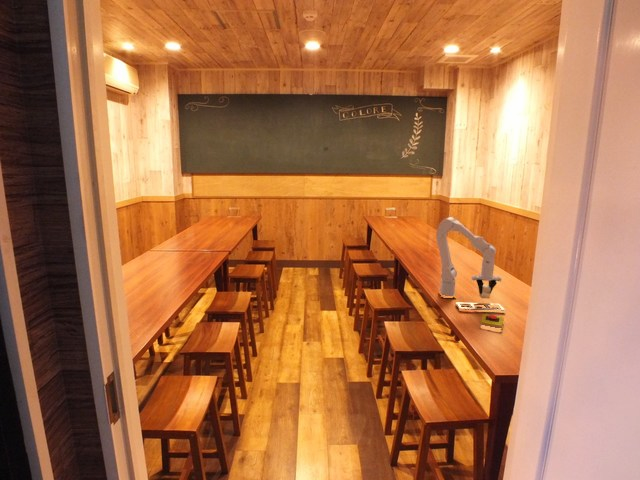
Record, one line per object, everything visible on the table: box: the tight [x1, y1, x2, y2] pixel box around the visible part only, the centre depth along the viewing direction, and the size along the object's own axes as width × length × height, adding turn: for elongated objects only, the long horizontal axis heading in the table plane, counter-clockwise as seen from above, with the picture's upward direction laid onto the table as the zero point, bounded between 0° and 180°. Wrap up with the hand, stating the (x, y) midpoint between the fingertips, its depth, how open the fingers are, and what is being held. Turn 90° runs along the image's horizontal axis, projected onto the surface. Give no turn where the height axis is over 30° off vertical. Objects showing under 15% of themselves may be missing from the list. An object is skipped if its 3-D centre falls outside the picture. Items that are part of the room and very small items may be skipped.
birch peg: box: [479, 284, 491, 300], centre depth 208 cm, size 4×4×6 cm
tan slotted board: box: [455, 301, 506, 312], centre depth 201 cm, size 8×22×2 cm, turn 86°
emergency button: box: [480, 313, 505, 328], centre depth 183 cm, size 9×4×15 cm
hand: (484, 293), depth 209 cm, fingers closed on birch peg, 4 cm apart
